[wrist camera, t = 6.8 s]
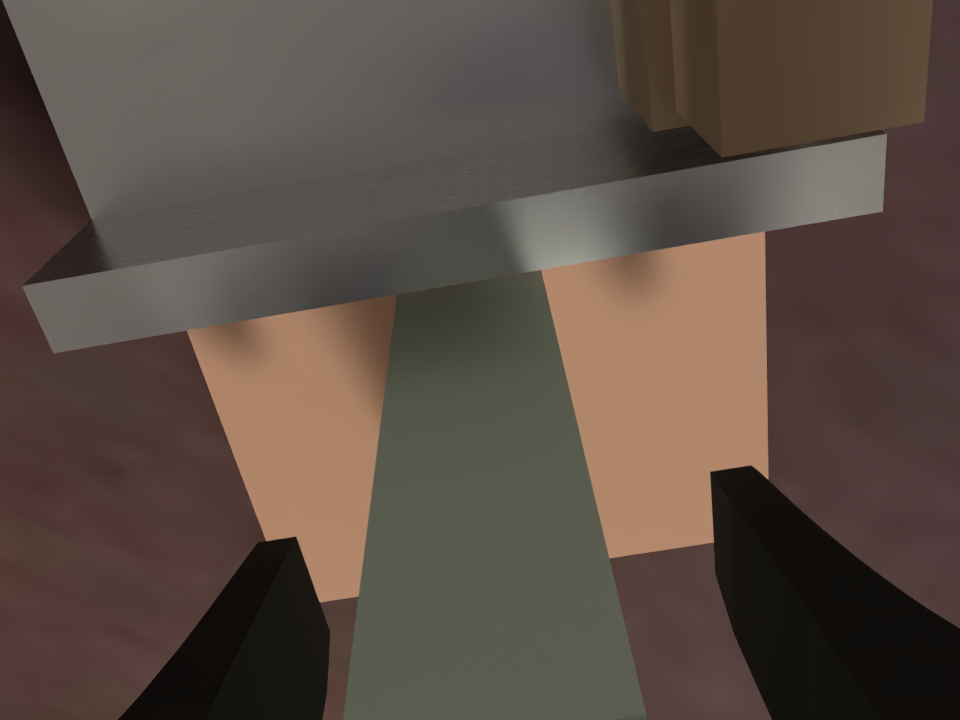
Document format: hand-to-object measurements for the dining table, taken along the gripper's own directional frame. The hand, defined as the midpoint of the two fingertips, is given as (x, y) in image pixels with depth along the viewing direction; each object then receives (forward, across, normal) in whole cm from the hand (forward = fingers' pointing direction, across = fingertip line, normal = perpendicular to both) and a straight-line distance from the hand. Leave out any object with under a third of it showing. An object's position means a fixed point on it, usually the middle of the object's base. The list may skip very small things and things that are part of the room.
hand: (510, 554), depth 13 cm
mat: (+4, 0, 0) cm, 4 cm away
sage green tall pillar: (+3, 0, 0) cm, 3 cm away
